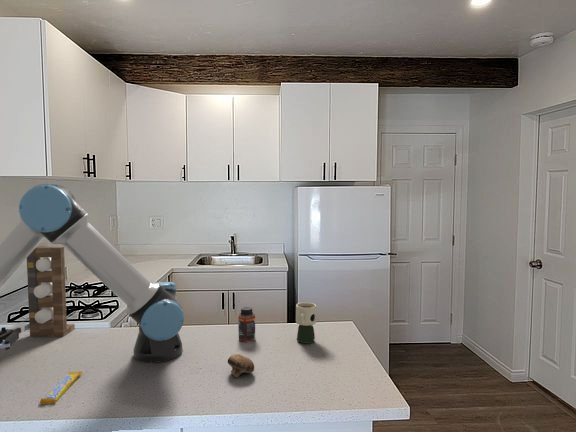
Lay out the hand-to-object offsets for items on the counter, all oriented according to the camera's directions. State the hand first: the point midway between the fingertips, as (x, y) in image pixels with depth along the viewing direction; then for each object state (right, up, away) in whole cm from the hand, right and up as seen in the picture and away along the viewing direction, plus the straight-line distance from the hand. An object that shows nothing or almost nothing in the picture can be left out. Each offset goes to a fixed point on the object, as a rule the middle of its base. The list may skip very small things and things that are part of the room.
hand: (22, 326), depth 137 cm
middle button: (0, +7, +13) cm, 15 cm away
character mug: (+93, -8, +10) cm, 93 cm away
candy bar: (+26, -11, -24) cm, 37 cm away
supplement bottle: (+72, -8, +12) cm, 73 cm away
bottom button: (0, -2, +13) cm, 14 cm away
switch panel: (0, -7, +18) cm, 19 cm away
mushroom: (+73, -10, -15) cm, 75 cm away
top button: (0, +17, +14) cm, 22 cm away
